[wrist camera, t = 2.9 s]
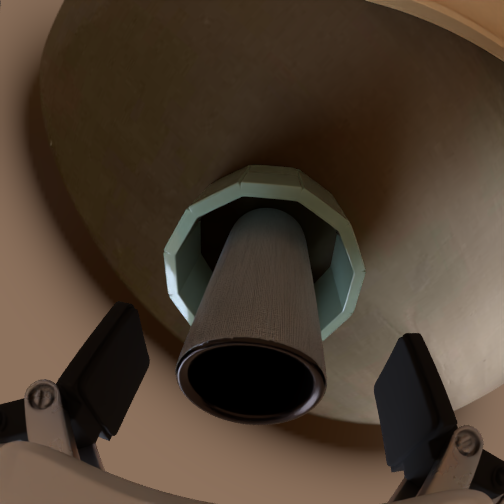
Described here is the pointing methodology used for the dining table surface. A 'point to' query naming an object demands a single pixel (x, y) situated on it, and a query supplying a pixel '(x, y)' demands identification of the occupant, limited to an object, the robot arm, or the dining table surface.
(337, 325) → the sleeve
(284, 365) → the grey cylinder
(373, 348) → the dining table surface
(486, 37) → the tray
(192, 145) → the dining table surface
